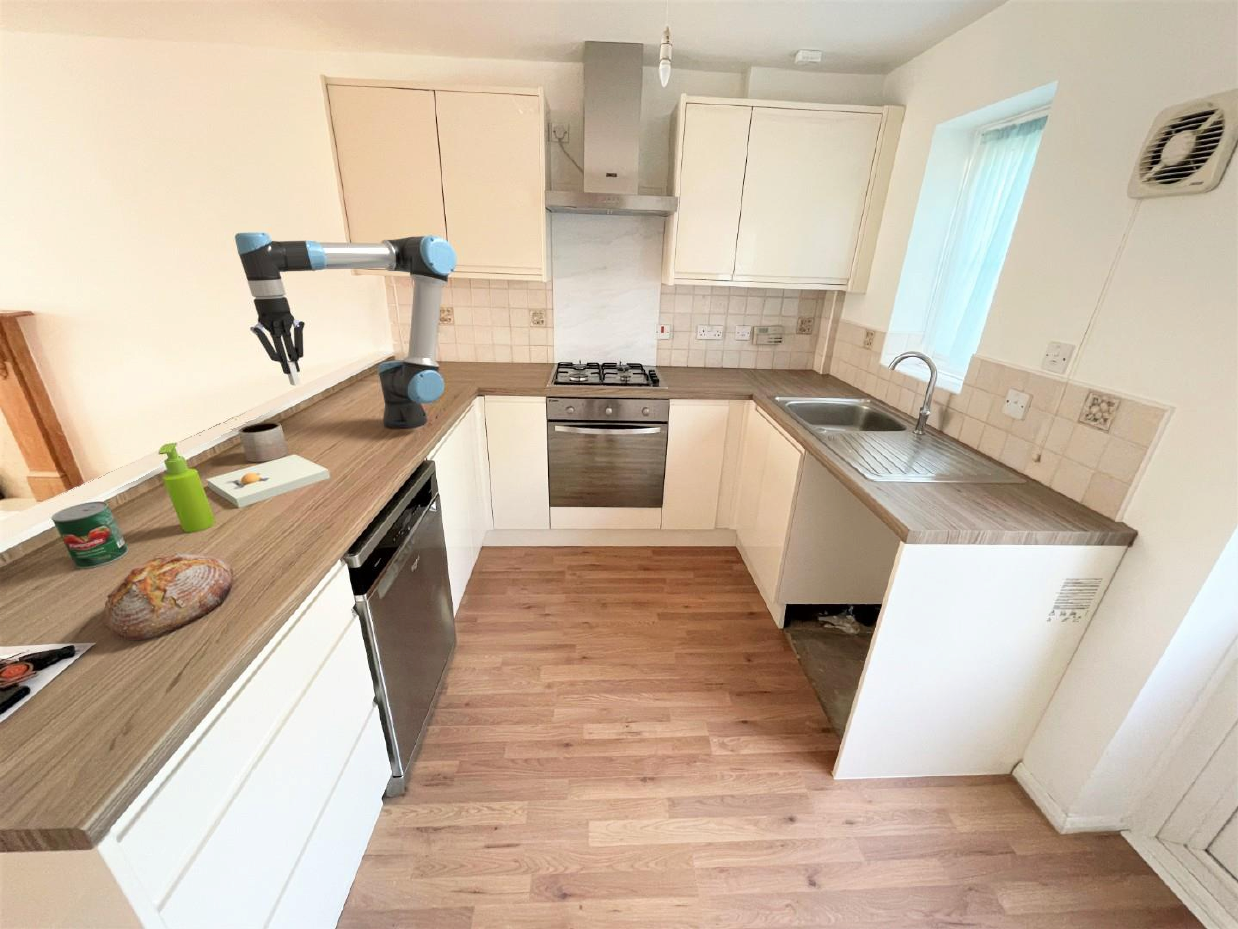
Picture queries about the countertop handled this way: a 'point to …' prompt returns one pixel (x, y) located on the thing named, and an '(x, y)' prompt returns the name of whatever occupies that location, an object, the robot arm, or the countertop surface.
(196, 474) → the soap dispenser
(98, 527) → the canned tomato
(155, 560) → the bread
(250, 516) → the countertop surface
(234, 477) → the plate
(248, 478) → the ball
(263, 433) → the planter
